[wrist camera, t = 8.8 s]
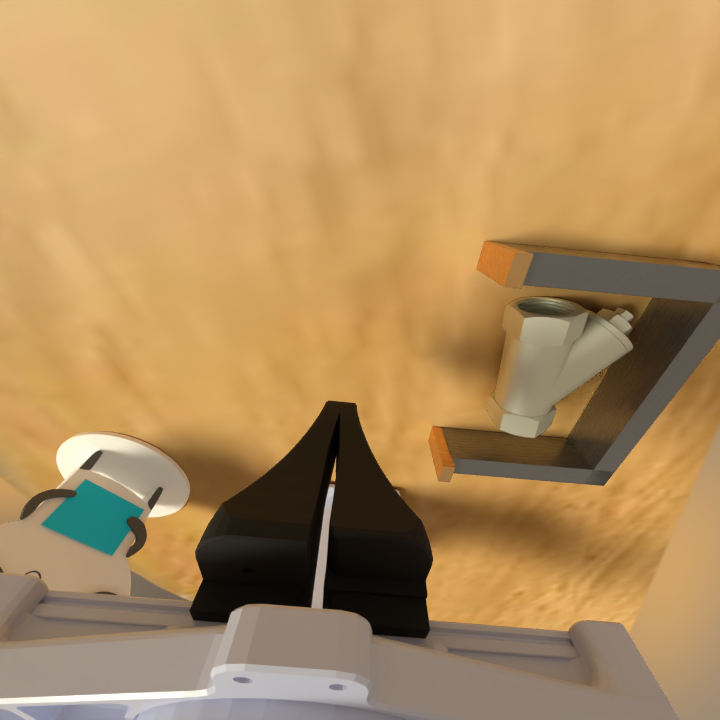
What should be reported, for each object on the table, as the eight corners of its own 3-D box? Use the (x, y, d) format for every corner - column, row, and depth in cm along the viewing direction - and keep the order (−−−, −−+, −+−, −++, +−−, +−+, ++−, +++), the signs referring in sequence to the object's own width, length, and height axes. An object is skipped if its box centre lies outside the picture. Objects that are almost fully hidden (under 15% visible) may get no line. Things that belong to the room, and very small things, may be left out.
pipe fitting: (608, 288, 17) (498, 298, 17) (673, 310, 14) (536, 322, 14) (570, 395, 21) (480, 403, 21) (613, 432, 18) (506, 442, 18)
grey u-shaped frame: (577, 453, 23) (612, 495, 20) (428, 440, 23) (438, 481, 20) (703, 262, 16) (791, 278, 12) (484, 241, 16) (515, 252, 12)
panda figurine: (220, 489, 27) (78, 764, 14) (154, 529, 31) (-7, 776, 17) (98, 409, 22) (-282, 704, 9) (38, 467, 26) (-294, 736, 13)
